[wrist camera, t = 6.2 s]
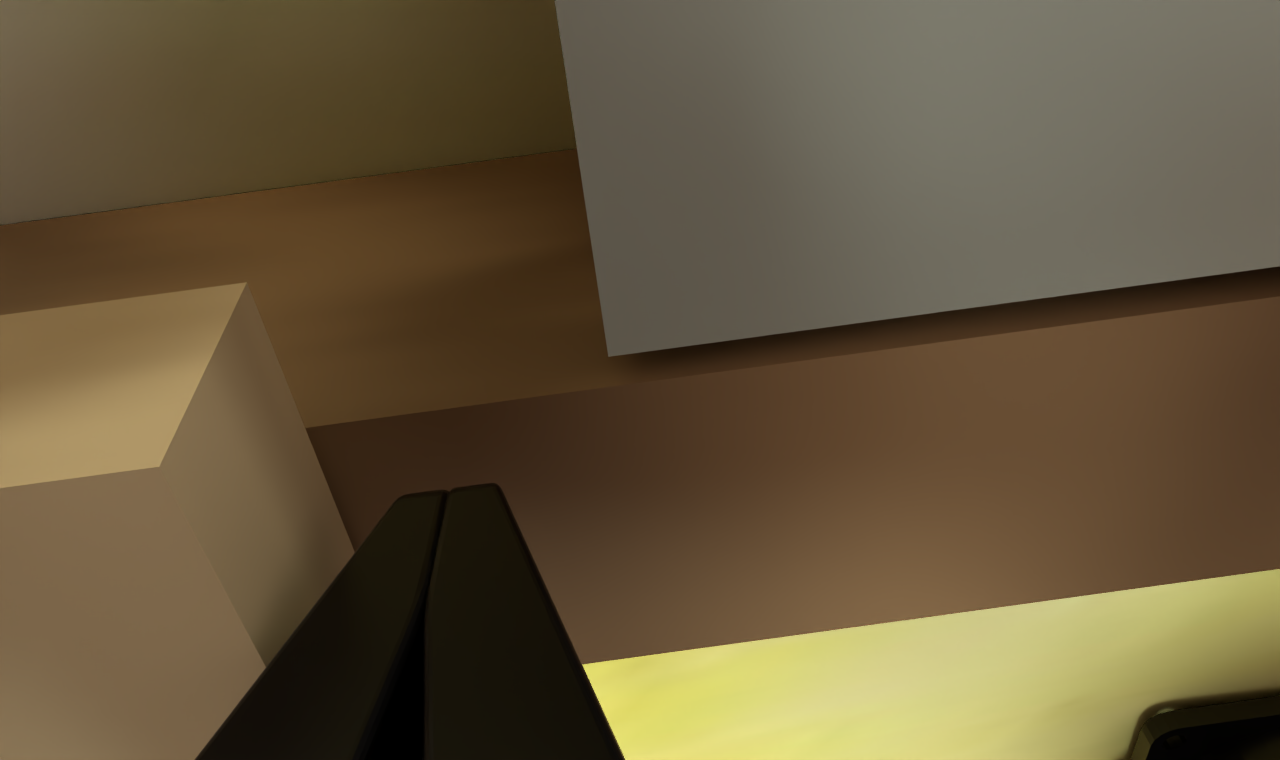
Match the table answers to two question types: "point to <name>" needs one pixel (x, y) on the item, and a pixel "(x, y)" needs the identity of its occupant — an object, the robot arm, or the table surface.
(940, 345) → the toolbox
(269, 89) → the table surface
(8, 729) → the tan rectangular block
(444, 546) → the robot arm
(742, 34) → the toolbox lid
